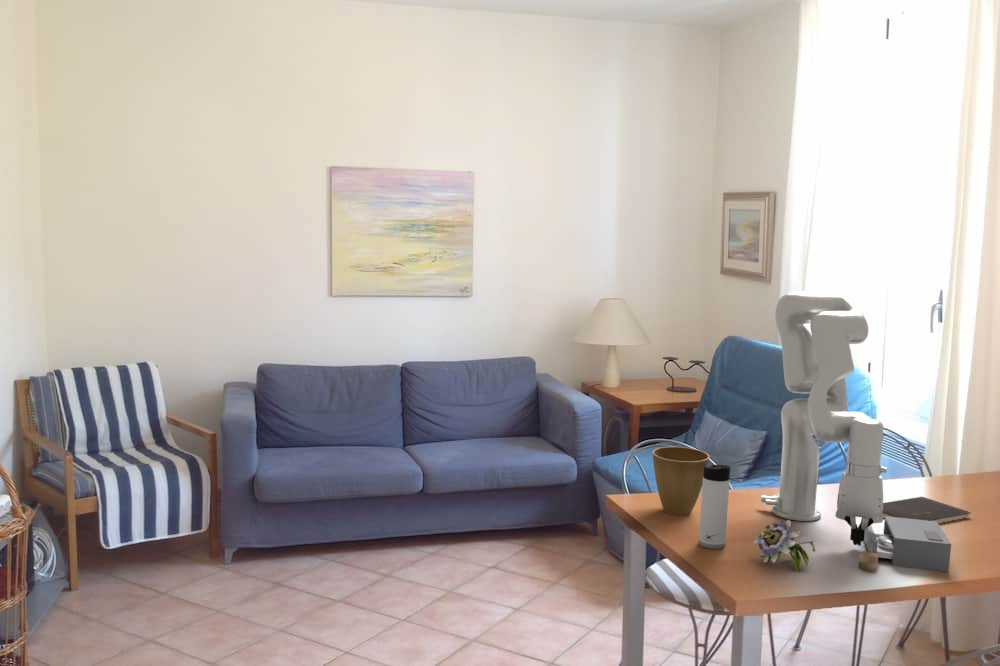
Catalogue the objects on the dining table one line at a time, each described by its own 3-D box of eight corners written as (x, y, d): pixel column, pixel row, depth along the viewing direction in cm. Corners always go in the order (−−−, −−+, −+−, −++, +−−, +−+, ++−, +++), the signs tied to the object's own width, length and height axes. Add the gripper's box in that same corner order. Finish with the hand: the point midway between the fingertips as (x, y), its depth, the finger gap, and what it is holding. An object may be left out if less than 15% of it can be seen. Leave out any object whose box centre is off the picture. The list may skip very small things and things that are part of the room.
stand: (859, 570, 219) (860, 556, 219) (857, 564, 223) (858, 550, 223) (877, 573, 218) (879, 558, 218) (875, 566, 222) (877, 552, 222)
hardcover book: (969, 520, 262) (970, 512, 262) (913, 531, 251) (914, 522, 251) (919, 503, 276) (920, 495, 276) (863, 513, 265) (864, 505, 265)
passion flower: (765, 585, 223) (741, 537, 227) (798, 569, 228) (773, 522, 232) (795, 574, 214) (769, 523, 217) (828, 557, 219) (802, 508, 223)
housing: (892, 565, 224) (895, 537, 223) (882, 541, 240) (885, 515, 239) (948, 571, 221) (951, 543, 220) (934, 547, 237) (937, 520, 236)
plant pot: (640, 504, 264) (643, 447, 262) (689, 501, 268) (693, 445, 266) (664, 521, 249) (667, 461, 247) (715, 518, 254) (719, 459, 252)
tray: (871, 560, 225) (873, 541, 224) (863, 537, 241) (864, 519, 241) (927, 566, 222) (929, 547, 221) (915, 542, 238) (917, 524, 238)
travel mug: (711, 551, 229) (716, 469, 226) (693, 542, 235) (698, 462, 232) (731, 547, 232) (737, 466, 229) (713, 539, 237) (718, 460, 235)
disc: (878, 549, 229) (879, 543, 229) (875, 540, 236) (876, 533, 235) (910, 553, 227) (911, 546, 227) (906, 544, 234) (906, 537, 234)
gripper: (894, 469, 233) (887, 542, 235) (829, 463, 237) (823, 535, 239) (898, 477, 226) (891, 552, 228) (831, 470, 229) (825, 544, 232)
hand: (856, 543), depth 233 cm, fingers closed
